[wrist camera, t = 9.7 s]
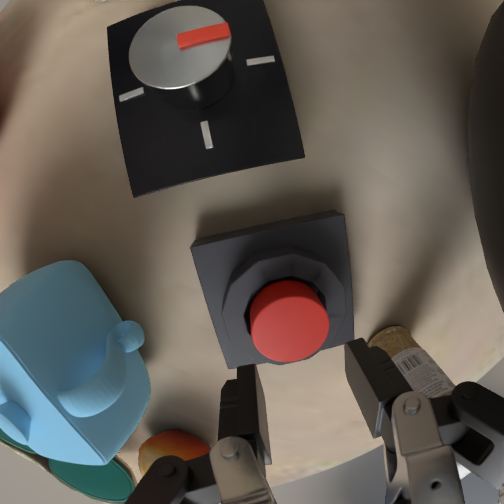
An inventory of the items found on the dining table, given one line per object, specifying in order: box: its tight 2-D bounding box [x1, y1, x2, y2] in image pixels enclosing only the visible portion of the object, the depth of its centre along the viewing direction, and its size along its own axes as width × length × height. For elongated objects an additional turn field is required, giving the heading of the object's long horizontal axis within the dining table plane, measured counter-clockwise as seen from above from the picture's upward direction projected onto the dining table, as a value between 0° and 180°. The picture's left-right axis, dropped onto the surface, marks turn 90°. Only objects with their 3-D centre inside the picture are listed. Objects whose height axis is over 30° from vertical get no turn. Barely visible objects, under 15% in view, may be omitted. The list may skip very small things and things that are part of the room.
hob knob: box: [129, 6, 234, 110], centre depth 10 cm, size 4×4×4 cm
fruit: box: [138, 429, 211, 476], centre depth 20 cm, size 8×8×8 cm
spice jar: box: [368, 326, 471, 479], centre depth 14 cm, size 5×5×14 cm
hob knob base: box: [107, 0, 305, 198], centre depth 13 cm, size 11×9×3 cm
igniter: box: [190, 210, 354, 369], centre depth 17 cm, size 9×9×4 cm
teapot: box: [0, 260, 151, 465], centre depth 13 cm, size 12×18×12 cm
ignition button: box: [250, 280, 330, 362], centre depth 15 cm, size 4×4×2 cm
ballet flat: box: [0, 428, 138, 504], centre depth 21 cm, size 8×25×8 cm
